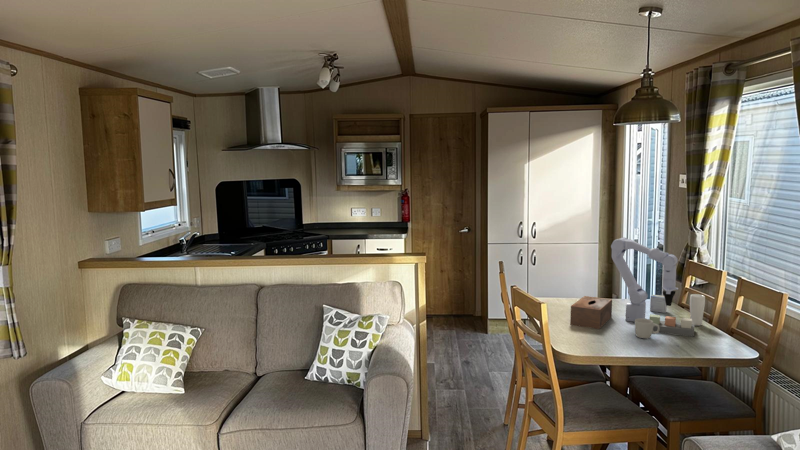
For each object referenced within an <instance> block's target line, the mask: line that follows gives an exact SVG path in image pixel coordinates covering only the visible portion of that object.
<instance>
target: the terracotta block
mask: <svg viewBox="0 0 800 450" xmlns="http://www.w3.org/2000/svg"><path fill="white" fill-rule="evenodd" d="M664 318H665V319H664V321H665V325H666V326H674V327H675V325H676V323H677V320H676V319H677V317H676V316H668V315H666V316H665V317H664Z"/></svg>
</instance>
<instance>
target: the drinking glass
mask: <svg viewBox="0 0 800 450" xmlns="http://www.w3.org/2000/svg"><path fill="white" fill-rule="evenodd" d="M705 305H706V296H705V295H703V294H701V293H700V294H699V293H697V294H696V293H693V294H692V293H691V294H690V295H689V315H690V318H689V319H692V324H693V325H695V326H702V325H703V318H704V312H705Z"/></svg>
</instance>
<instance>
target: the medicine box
mask: <svg viewBox="0 0 800 450" xmlns="http://www.w3.org/2000/svg"><path fill="white" fill-rule="evenodd" d="M649 306H650V307H649V311H650V312H653V313H654V312H656V313H664V314H666V313H667V307H668V306H666V301H665V297H664V295H661V294H660V295H659V294H651V295H650V305H649Z"/></svg>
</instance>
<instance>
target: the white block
mask: <svg viewBox="0 0 800 450" xmlns="http://www.w3.org/2000/svg"><path fill="white" fill-rule="evenodd" d="M680 319H681V320H680V323H681V327H682V328H690V329H691V327H692V319H690V318H687V317H686V318H685V317H681V318H680Z"/></svg>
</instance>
